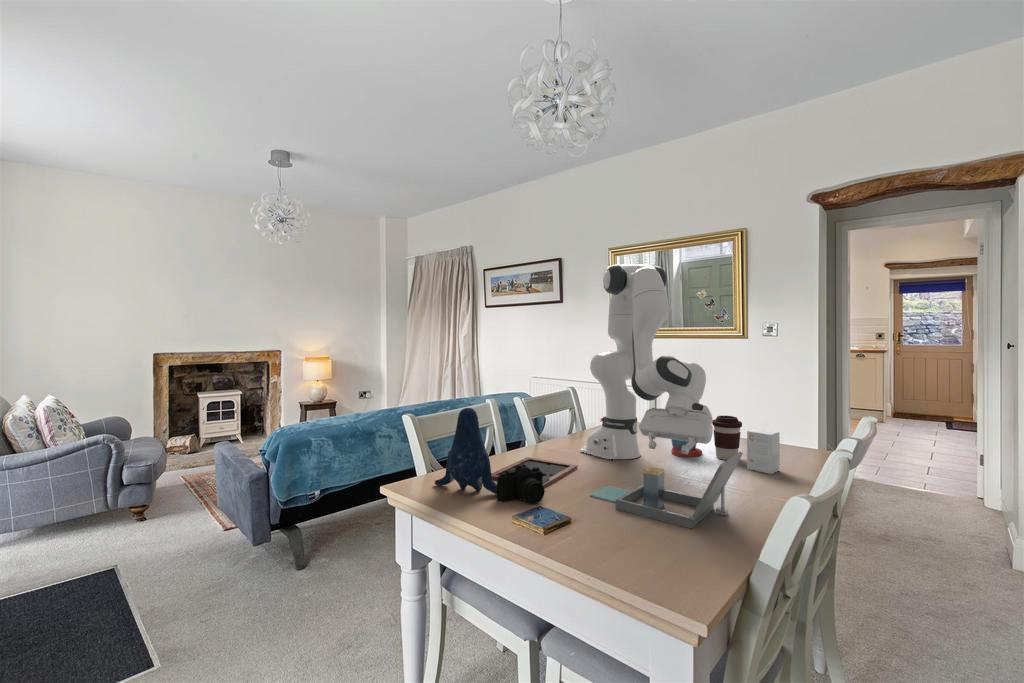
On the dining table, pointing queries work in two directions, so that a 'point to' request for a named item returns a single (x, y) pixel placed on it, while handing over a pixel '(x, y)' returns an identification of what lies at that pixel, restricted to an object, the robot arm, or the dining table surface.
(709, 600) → the dining table surface
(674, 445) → the stacking bear
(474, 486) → the dark blue plush toy
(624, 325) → the robot arm
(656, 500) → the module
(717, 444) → the coffee cup
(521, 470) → the film camera
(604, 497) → the pad
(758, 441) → the small box
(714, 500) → the case
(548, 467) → the picture frame
